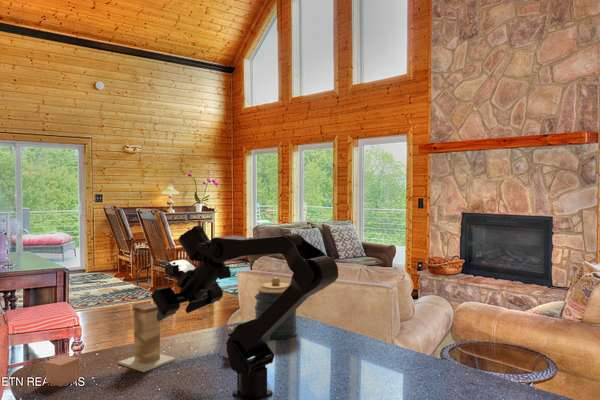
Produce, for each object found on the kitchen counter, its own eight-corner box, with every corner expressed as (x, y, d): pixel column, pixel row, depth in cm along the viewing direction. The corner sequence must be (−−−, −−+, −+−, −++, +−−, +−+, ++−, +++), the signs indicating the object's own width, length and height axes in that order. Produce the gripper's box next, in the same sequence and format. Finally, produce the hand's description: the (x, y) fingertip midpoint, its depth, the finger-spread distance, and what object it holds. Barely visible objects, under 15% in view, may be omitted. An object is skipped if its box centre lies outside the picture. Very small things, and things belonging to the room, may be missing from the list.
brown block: (160, 358, 129) (160, 305, 128) (145, 364, 125) (145, 309, 124) (148, 355, 131) (148, 303, 131) (133, 360, 127) (133, 306, 127)
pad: (175, 360, 129) (175, 358, 129) (143, 372, 121) (143, 369, 121) (150, 353, 135) (150, 350, 135) (118, 363, 127) (118, 361, 127)
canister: (279, 325, 162) (279, 272, 161) (305, 334, 152) (305, 277, 151) (246, 333, 153) (246, 276, 153) (271, 343, 143) (271, 283, 143)
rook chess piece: (236, 359, 130) (236, 329, 130) (220, 358, 131) (220, 328, 131) (241, 353, 134) (241, 324, 134) (226, 352, 135) (226, 323, 135)
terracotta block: (79, 379, 117) (78, 358, 117) (61, 386, 113) (61, 365, 112) (64, 375, 119) (63, 355, 119) (45, 383, 115) (45, 362, 114)
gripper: (214, 246, 127) (185, 284, 133) (156, 254, 111) (125, 296, 118) (237, 279, 122) (206, 317, 129) (180, 293, 107) (147, 335, 113)
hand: (172, 315), depth 122 cm, fingers open, 9 cm apart
